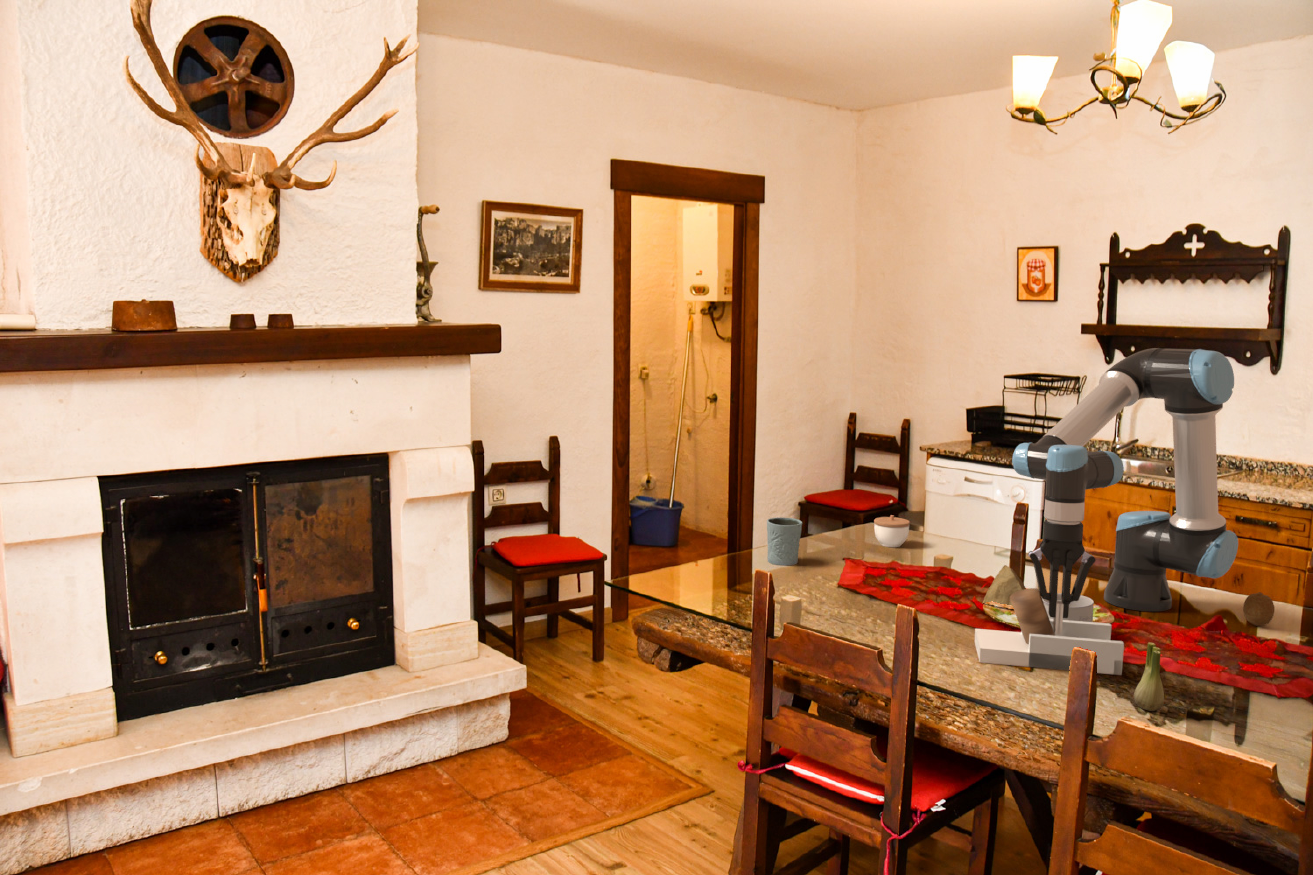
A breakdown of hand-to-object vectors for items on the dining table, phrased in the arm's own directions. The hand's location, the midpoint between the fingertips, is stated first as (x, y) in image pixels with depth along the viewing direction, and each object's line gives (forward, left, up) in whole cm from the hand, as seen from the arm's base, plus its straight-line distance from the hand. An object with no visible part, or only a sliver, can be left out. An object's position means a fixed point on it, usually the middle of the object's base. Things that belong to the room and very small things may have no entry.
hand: (1057, 632), depth 201 cm
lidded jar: (+34, -94, -6) cm, 100 cm away
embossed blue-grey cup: (+64, -64, -6) cm, 91 cm away
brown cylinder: (+3, 0, -2) cm, 4 cm away
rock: (+6, -35, -6) cm, 36 cm away
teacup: (-5, -20, -6) cm, 22 cm away
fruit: (-49, -36, -6) cm, 62 cm away
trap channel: (+2, 0, -6) cm, 6 cm away
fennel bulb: (-12, +23, -6) cm, 27 cm away
